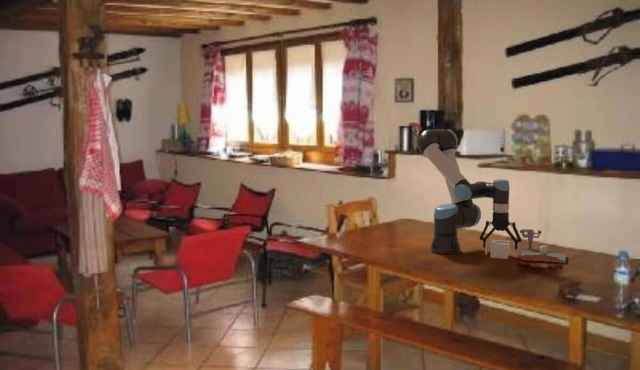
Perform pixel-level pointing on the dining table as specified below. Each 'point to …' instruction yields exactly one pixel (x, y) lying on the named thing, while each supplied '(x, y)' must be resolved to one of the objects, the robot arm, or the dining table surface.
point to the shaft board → (561, 256)
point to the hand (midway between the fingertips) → (500, 255)
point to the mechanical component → (530, 235)
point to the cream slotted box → (499, 249)
